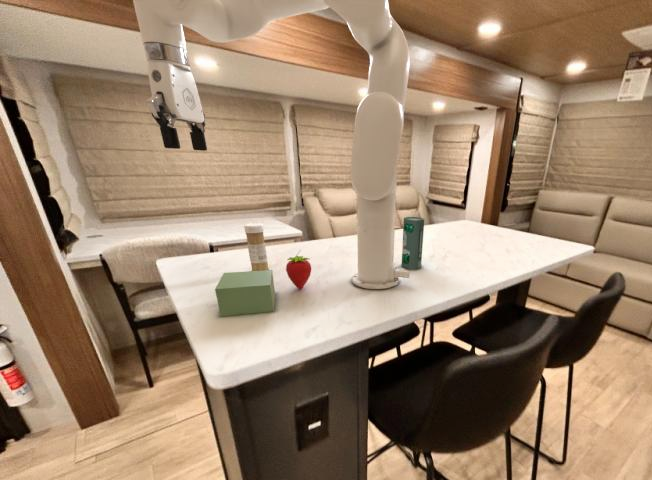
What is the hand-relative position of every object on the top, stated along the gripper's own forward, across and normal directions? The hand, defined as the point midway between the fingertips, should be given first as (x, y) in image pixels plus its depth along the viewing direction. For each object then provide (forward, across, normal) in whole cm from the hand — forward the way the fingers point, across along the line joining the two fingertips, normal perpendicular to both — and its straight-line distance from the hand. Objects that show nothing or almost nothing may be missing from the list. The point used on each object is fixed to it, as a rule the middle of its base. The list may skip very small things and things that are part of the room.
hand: (187, 149), depth 72 cm
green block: (+31, -18, -18) cm, 40 cm away
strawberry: (+31, -8, -26) cm, 42 cm away
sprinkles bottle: (+31, +3, -11) cm, 33 cm away
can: (+31, +15, -54) cm, 64 cm away
